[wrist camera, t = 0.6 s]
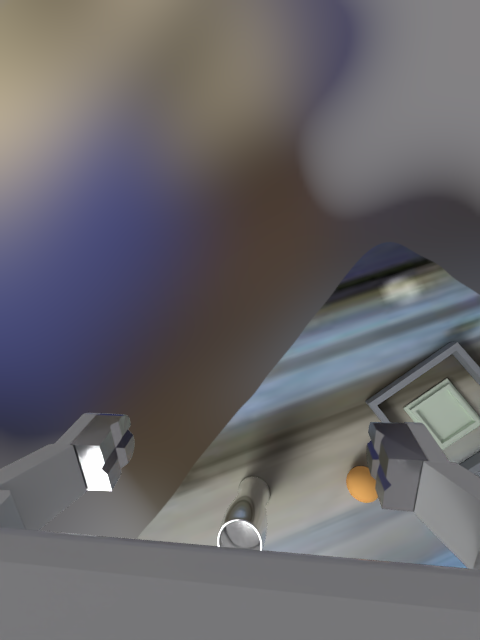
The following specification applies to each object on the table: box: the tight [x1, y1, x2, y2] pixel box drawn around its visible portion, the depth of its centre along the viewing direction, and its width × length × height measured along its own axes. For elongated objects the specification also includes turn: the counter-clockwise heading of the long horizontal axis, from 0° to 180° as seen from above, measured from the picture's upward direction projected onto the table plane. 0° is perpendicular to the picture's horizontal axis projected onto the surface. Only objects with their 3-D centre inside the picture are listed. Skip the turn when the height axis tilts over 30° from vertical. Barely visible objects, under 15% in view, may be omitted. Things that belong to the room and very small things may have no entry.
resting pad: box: [403, 378, 480, 450], centre depth 53 cm, size 9×9×1 cm
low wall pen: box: [365, 342, 480, 474], centre depth 52 cm, size 18×18×2 cm
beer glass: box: [217, 476, 270, 550], centre depth 50 cm, size 7×7×15 cm
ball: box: [346, 466, 378, 503], centre depth 52 cm, size 6×6×6 cm
